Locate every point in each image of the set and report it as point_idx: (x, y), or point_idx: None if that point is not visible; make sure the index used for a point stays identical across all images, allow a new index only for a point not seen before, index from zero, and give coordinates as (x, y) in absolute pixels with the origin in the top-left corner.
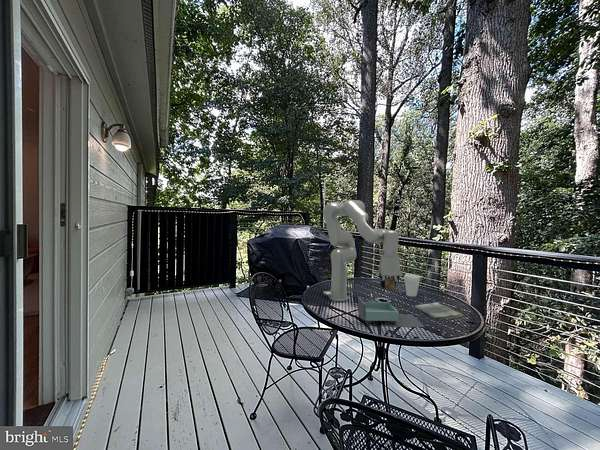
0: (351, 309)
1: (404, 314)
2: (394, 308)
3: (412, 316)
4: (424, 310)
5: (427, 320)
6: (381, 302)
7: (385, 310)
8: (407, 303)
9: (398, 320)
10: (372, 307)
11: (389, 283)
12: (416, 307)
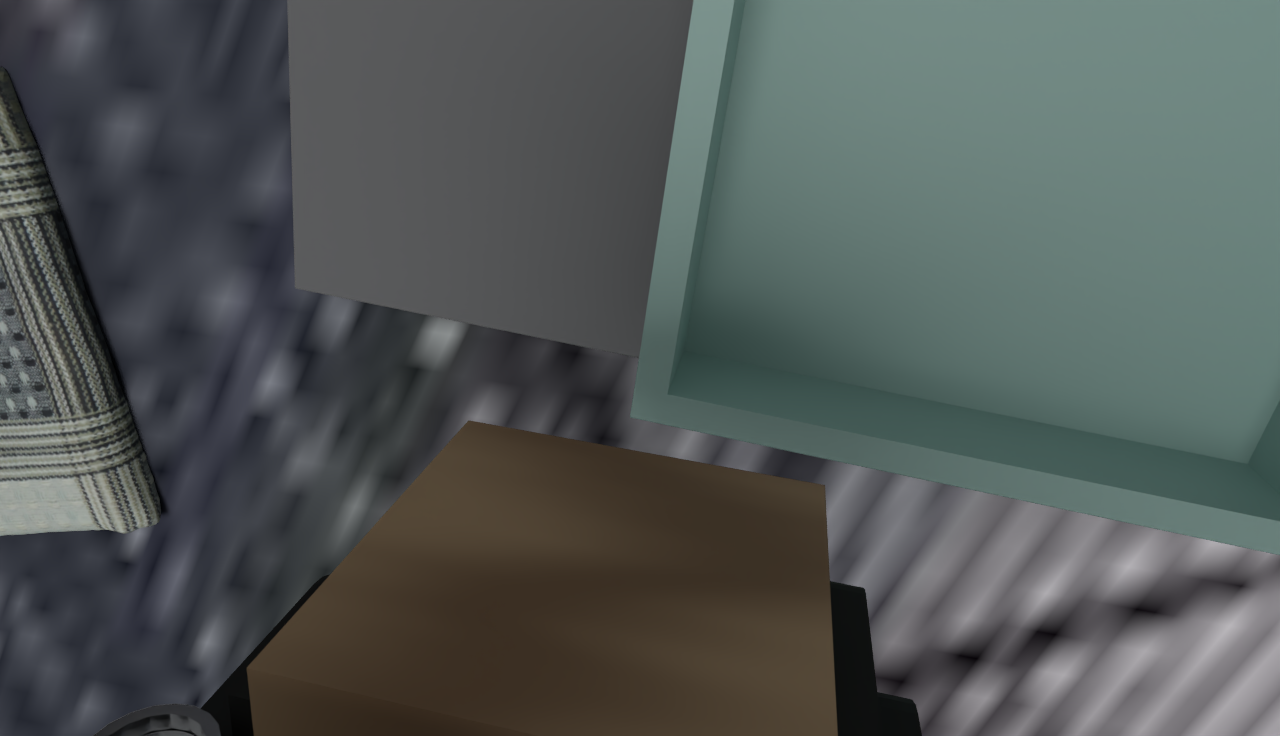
0: (1185, 650)
1: (408, 304)
2: (710, 16)
3: (316, 208)
4: (64, 342)
5: (142, 34)
6: (811, 447)
7: (796, 257)
8: (207, 668)
9: (625, 64)
10: (1006, 421)
11: (617, 629)
12: (139, 491)
